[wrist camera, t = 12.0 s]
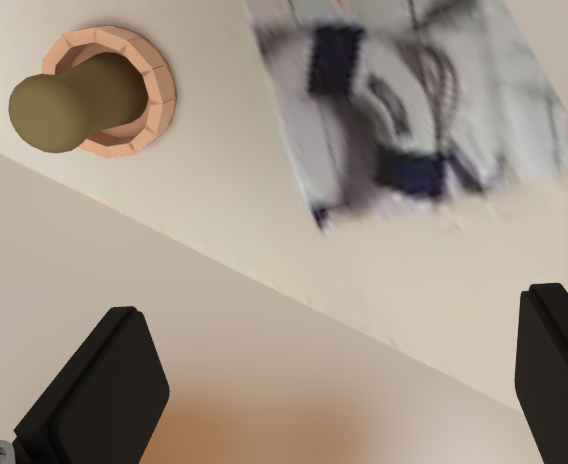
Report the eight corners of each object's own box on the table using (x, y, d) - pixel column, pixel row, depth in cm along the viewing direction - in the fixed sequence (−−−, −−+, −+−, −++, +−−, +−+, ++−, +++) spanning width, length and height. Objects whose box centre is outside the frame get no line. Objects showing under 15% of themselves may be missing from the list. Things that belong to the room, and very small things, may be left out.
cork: (151, 62, 38) (82, 86, 28) (145, 132, 41) (80, 175, 31) (81, 43, 38) (-13, 60, 28) (79, 114, 41) (-6, 151, 31)
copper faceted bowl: (48, 38, 39) (21, 42, 36) (156, 15, 37) (138, 17, 34) (90, 151, 44) (70, 163, 40) (189, 136, 41) (176, 148, 38)
